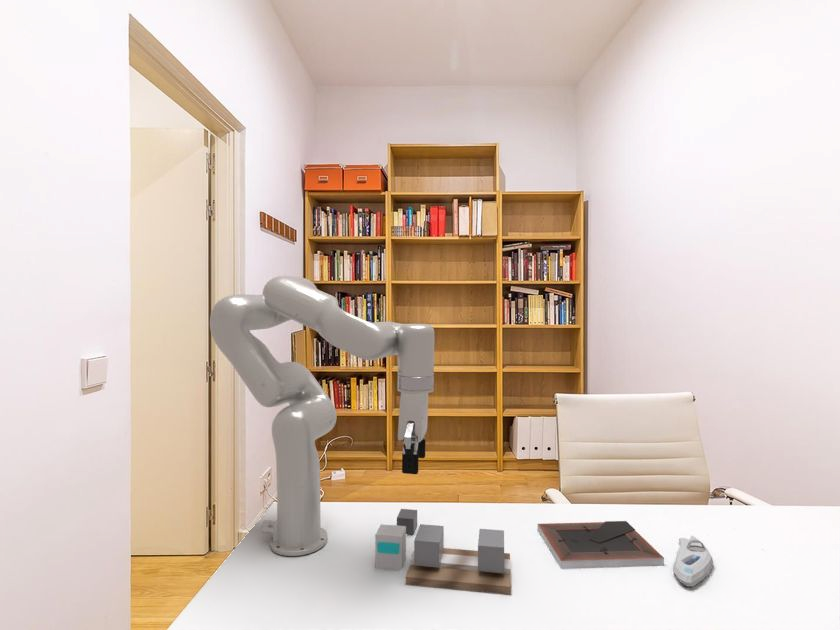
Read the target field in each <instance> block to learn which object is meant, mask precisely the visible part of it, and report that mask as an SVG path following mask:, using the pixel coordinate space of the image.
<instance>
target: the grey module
mask: <svg viewBox="0 0 840 630" xmlns="http://www.w3.org/2000/svg"><path fill="white" fill-rule="evenodd" d="M374 538H375V539H374V541H375V542H374V544H375V549H374V550H375V551H374V553H375V555H374V557H375V559H374V561H375V567H374V568H375V569H380V568H382V569H381V570H391V569H392V571H401V570H402V571H403V569H402V568H404V566H405V563H406V560H407V535H406V526H397V524H396V525H393V524H380V525H379V527H378V529H377V531H376V532H375V536H374Z"/></svg>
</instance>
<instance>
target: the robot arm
mask: <svg viewBox="0 0 840 630" xmlns="http://www.w3.org/2000/svg"><path fill="white" fill-rule="evenodd" d="M339 306H340V305H339V300H338V299H337V298H336V297H335V296H334V295H332V294H329V293H326V292H324V291H322V290H320V289H318V288H317V286H316V285H315V284H314V283H313V282H312V281H311V280H309V279H308V278H306V277H305V278H304V277H299V276H290V275H289V276H287V275H281V276H275V277H273V278H271V279H269V280H268V281H266V284H265V285H264V287H263V289H262V294H232V295H228V296H224V297H223V298H221V299H220V300H219V299H218V301H217V302H216V303H215V304H214V305H213V307H212V310H211V312H210V315H209V316H210V317H209V328H210V330H209V331H210V333H211V337H212V339H213V341H214V343H215V345H216V346H217V348H218V349H219V351H220V352H221V353H222V354H223V356H224V357H225V358H226V359H227V361H228V362H230V364H231V365H232V367H233V369H235V371H236V373H237V374H238V375H239V378H240V379H241V380H242V381H243V383H244V384H245V385H246V387H247V389H248V390H249V392H250V393H251V395H252V396H253V397H254V399H255V400H256V401H257V403H258V404H259V405H260V406H262V407H264V408H273V407H275V408H276V407H279V406H281V405H286V404H287V403H288V404H289V405H288V406H285V407H283V408H282V409H281V410H280V411H278V412H277V413H276V415H275V416H274V419H273V420H272V424H271V436H272V441H273V446H274V453H275V465H276V466H275V467H276V520H270V519H264V520H263V521H262V523H261V532H262V534H267V535H268V534H271V535H272V537H271V539H270V540H269V543H270V544H269V545H270V550H272V552H274V553H275V554H277V555H281V556H285V557H287V556H288V557H298V556H304V555H305V556H306V555H308V554H309V555H310V554H312V553H314V552H316V551H318V550H321V549H322V548H323V547H324V546H325V545H326V544H327V542H328V536H329V535H328V532H327V531H326V529H324V528H323V527H321V463H320V456H319V454H318V453H319V452H318V449H317V447H316V440H318V439H320V438H321V437H322V436H325V435H326V434H328V433H329V432H331V431H332V430H333V428H334V427H335V426H336V422H337V418H338V417H337V410H336V407H335V405H334V403H333V402H332V399H331V398H330V397H329V395H328V394H327V393H326V391H325V390H324V388H323V387H322V385H320V383H319V382H318V380H317V379H316V378H315V376H314V375H313V374H312V372H311V371H310V370H309V369H308V368H307V367H306V366H304V365H303V364H301V363H299V362H297V361H285V362H279V361H278V360H277V359H276V358H275V357H274V355H273V354H272V352H271V351H270V349H269V348H268V346H267V345H266V344H265V343H264V342H263V341H261V340H260V339H259V338H258V337H256V336H255V335H254V334H253V333H252V332H251V331H255V330H256V331H259V330H266V329H267V330H268V329H270V328H274V327H277V326H279V325H282V324H285V323H286V322H289V321H291V320H292V321H294V322H297V323H298V324H300V325H303V326H305V327H307V328H309V329H311V330H313V331H315V332H316V333H318V334H319V336H321V337H322V338H323V339H324V340H325V341H326V342H327V343H329V344H330V345H332V346H333V347H335V348H336V349H339V350H341V351H343V352H346V353H348V354H350V355H351V356H354V357H356V358H359V359H362V360H365V361H376V360H379V359H382V358H387V357H391V356H397V387H396V389H397V390H396V391H397V392H399V393H400V399H399V410H398V413H399V414H398V426H397V428H398V429H397V440H398V441H399V442H402V441H403V445H402V453H401V456H402V457H401V473H402V474H406V475H407V474H408V475H417V474H419V459H424V458H426V433H427V431H428V418H429V393H433V392H434V391H435V390H434V386H435V385H434V384H435V383H434V382H435V376H434V375H435V370H434V369H435V329H434V327H433V326H432V325H431V324H427V323H399V322H393V321H376V322H375V321H374V322H370V321H367V320H365V319H363V318H360V317H358V316H356V315H353V314H351V313H349V312H347V311H345V310H344V309H342V308H341V307H339Z"/></svg>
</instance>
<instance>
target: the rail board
mask: <svg viewBox="0 0 840 630" xmlns="http://www.w3.org/2000/svg"><path fill="white" fill-rule="evenodd" d="M511 566H512V565H511V553H507V552H504V573H494V572H483V571H478V550H473V549H471V550H470V549H460V548H448V547H447V548H446V547H444V550H443V554H442V559H441V563H440V567H427V566H416V565H414V550H413V551H412V553H411V555H410V559H409V566H408V568H407V569H408V570H407V572H406V575H405V585H407V586H418V587H425V588H426V587H429V588H438V589H448V590H449V589H450V590H457V591H458V590H460V591H469V592H478V593H488V594H500V595H510V596H511V595H512V575H511V572H512V571H511V569H512V568H511Z"/></svg>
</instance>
